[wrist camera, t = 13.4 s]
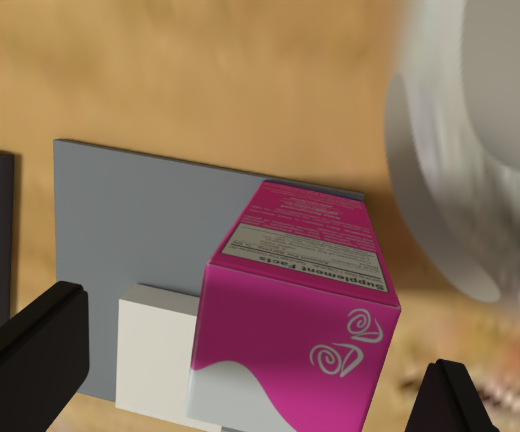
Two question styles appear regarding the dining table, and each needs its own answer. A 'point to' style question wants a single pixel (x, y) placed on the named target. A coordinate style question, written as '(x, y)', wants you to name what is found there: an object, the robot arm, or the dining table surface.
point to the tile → (156, 354)
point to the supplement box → (292, 317)
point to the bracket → (5, 233)
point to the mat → (140, 232)
